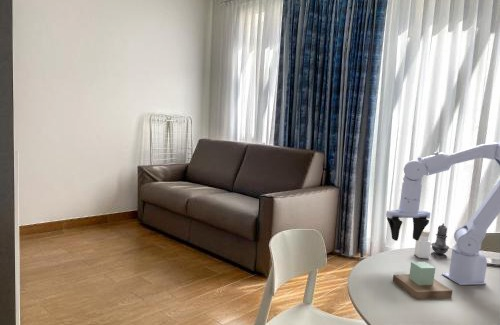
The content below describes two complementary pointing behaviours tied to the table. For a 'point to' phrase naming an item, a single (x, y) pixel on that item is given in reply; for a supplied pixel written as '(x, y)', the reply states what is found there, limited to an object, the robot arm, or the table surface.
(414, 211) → the robot arm
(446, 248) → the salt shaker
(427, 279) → the sage block
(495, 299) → the table surface
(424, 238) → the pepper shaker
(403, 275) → the walnut base
